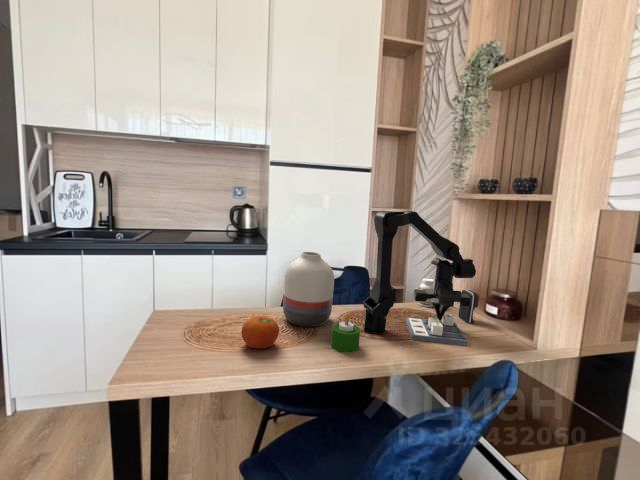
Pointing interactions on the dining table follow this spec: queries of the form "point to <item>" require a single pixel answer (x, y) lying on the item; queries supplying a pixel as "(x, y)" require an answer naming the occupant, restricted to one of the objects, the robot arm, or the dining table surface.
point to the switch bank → (422, 332)
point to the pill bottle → (427, 291)
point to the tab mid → (432, 319)
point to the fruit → (260, 332)
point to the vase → (308, 290)
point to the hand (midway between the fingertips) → (438, 321)
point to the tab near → (436, 328)
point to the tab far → (448, 319)
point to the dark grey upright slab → (468, 307)
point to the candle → (345, 336)
